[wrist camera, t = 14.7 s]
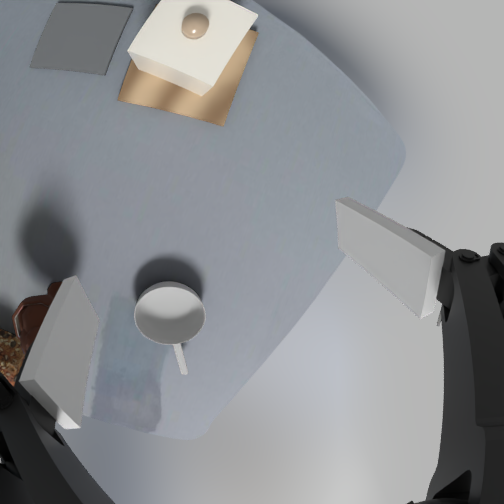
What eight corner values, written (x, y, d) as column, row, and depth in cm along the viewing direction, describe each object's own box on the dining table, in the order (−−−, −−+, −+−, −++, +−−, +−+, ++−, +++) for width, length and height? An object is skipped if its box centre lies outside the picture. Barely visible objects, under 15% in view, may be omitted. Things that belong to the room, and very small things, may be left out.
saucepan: (197, 269, 44) (200, 282, 40) (211, 355, 51) (215, 369, 48) (128, 280, 41) (125, 294, 38) (154, 364, 49) (155, 379, 46)
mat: (31, 67, 24) (29, 67, 24) (57, 4, 21) (56, 3, 20) (105, 75, 28) (104, 74, 28) (133, 9, 25) (132, 8, 25)
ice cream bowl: (40, 254, 35) (-1, 312, 22) (102, 285, 40) (83, 354, 27) (28, 305, 38) (-3, 368, 24) (84, 333, 42) (68, 401, 29)
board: (119, 100, 31) (117, 100, 29) (156, 7, 26) (156, 4, 25) (221, 126, 36) (223, 126, 35) (256, 35, 31) (258, 32, 30)
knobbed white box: (138, 69, 29) (125, 47, 19) (174, 12, 26) (178, -27, 16) (201, 96, 32) (215, 84, 22) (236, 39, 30) (263, 10, 20)
